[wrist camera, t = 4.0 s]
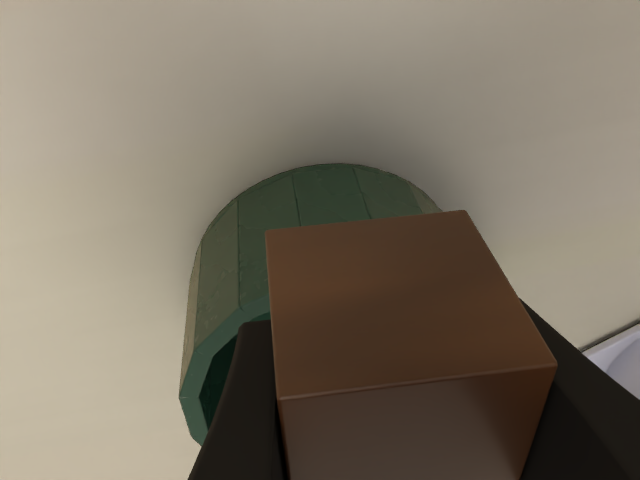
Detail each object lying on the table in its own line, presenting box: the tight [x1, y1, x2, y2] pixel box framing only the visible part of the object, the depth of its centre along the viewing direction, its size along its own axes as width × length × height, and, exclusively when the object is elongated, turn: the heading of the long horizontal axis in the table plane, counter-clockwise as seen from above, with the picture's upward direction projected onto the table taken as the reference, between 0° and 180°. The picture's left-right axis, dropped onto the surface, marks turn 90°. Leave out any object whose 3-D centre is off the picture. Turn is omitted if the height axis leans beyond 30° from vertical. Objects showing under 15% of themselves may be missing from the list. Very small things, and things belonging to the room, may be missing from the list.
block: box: [265, 210, 558, 480], centre depth 10 cm, size 4×4×4 cm
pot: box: [179, 164, 443, 446], centre depth 20 cm, size 10×10×6 cm
